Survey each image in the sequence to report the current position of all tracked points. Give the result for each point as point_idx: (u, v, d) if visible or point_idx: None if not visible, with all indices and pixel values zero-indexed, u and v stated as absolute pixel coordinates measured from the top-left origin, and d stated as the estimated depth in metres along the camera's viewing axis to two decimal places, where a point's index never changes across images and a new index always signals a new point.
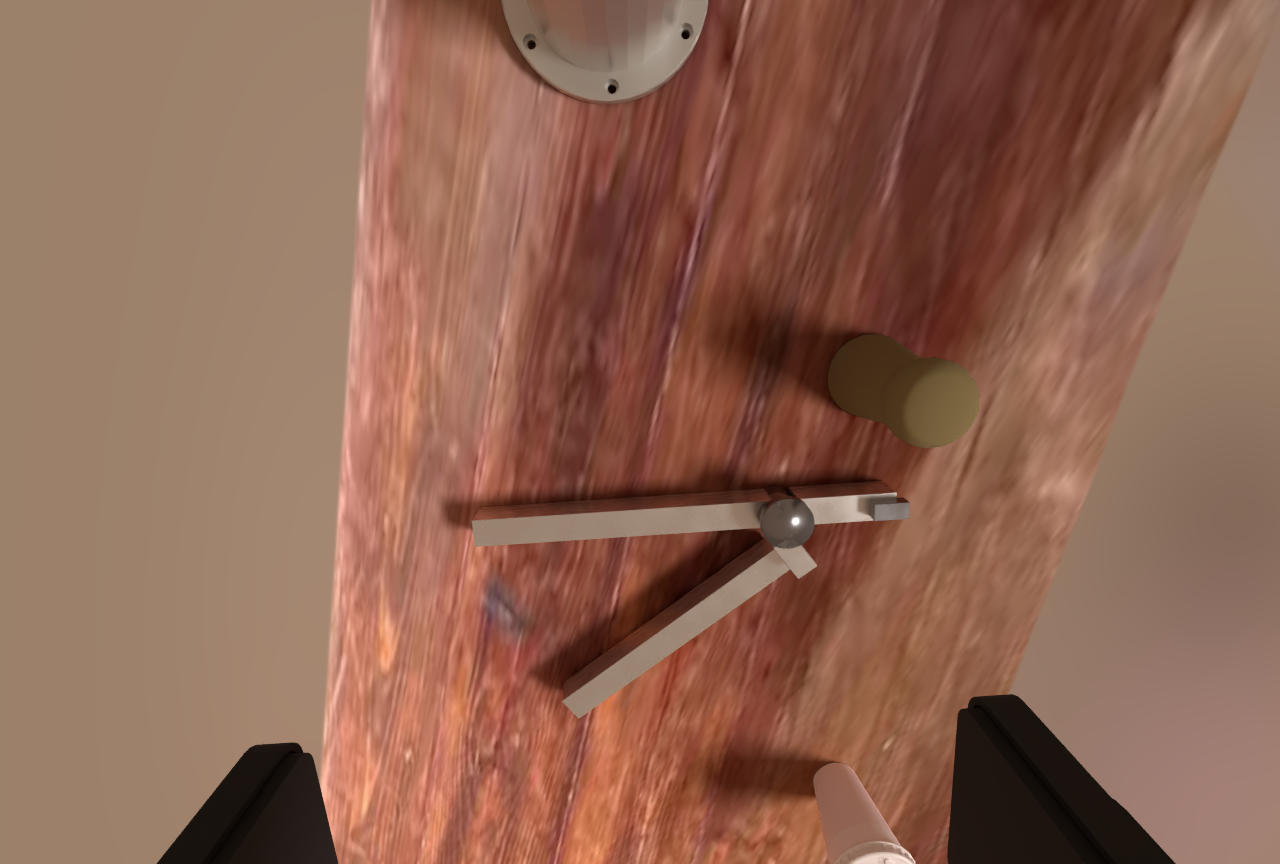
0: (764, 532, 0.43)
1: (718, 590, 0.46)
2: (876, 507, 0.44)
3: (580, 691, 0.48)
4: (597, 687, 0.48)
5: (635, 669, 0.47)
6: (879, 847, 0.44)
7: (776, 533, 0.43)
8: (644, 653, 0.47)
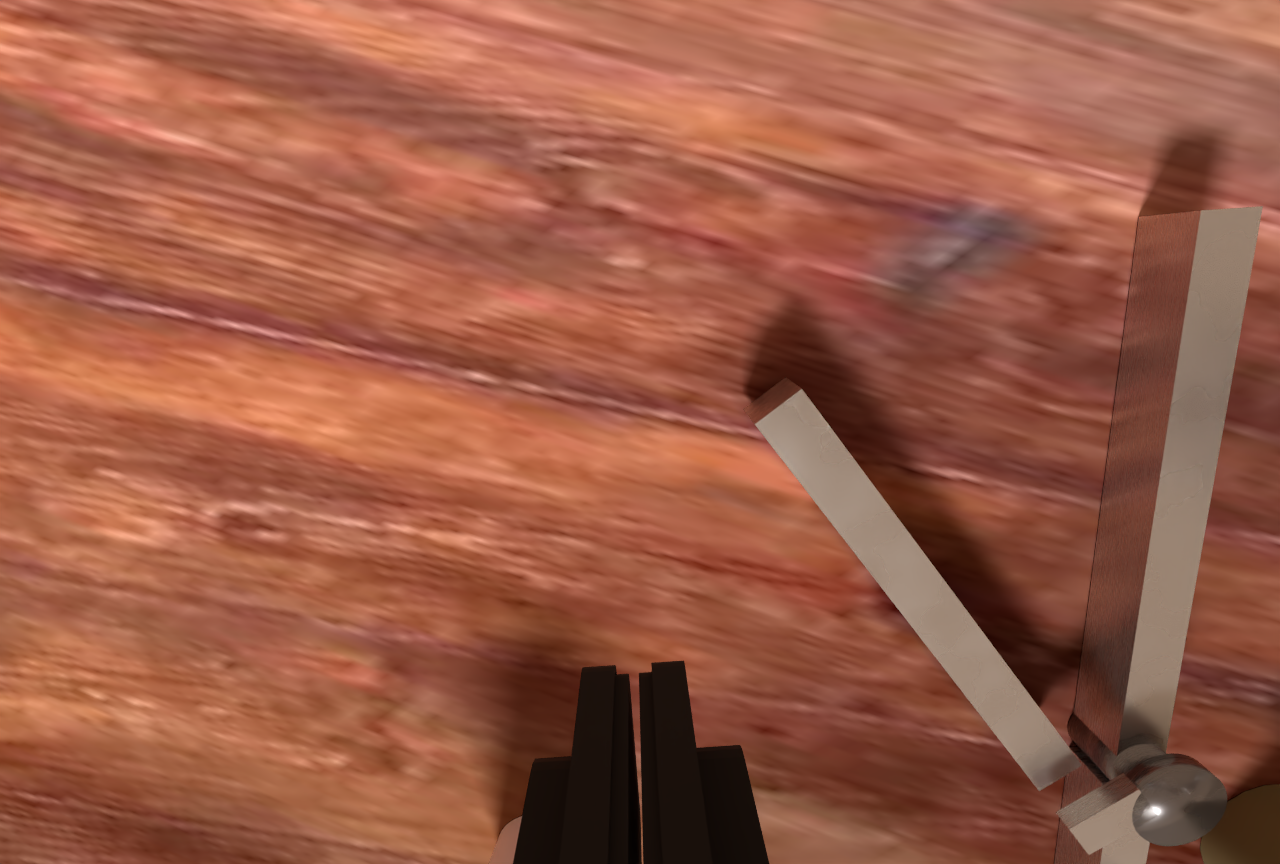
0: (1173, 774, 0.24)
1: (1019, 682, 0.25)
2: None
3: (824, 428, 0.22)
4: (830, 464, 0.22)
5: (866, 540, 0.23)
6: None
7: (1166, 792, 0.24)
8: (901, 557, 0.23)
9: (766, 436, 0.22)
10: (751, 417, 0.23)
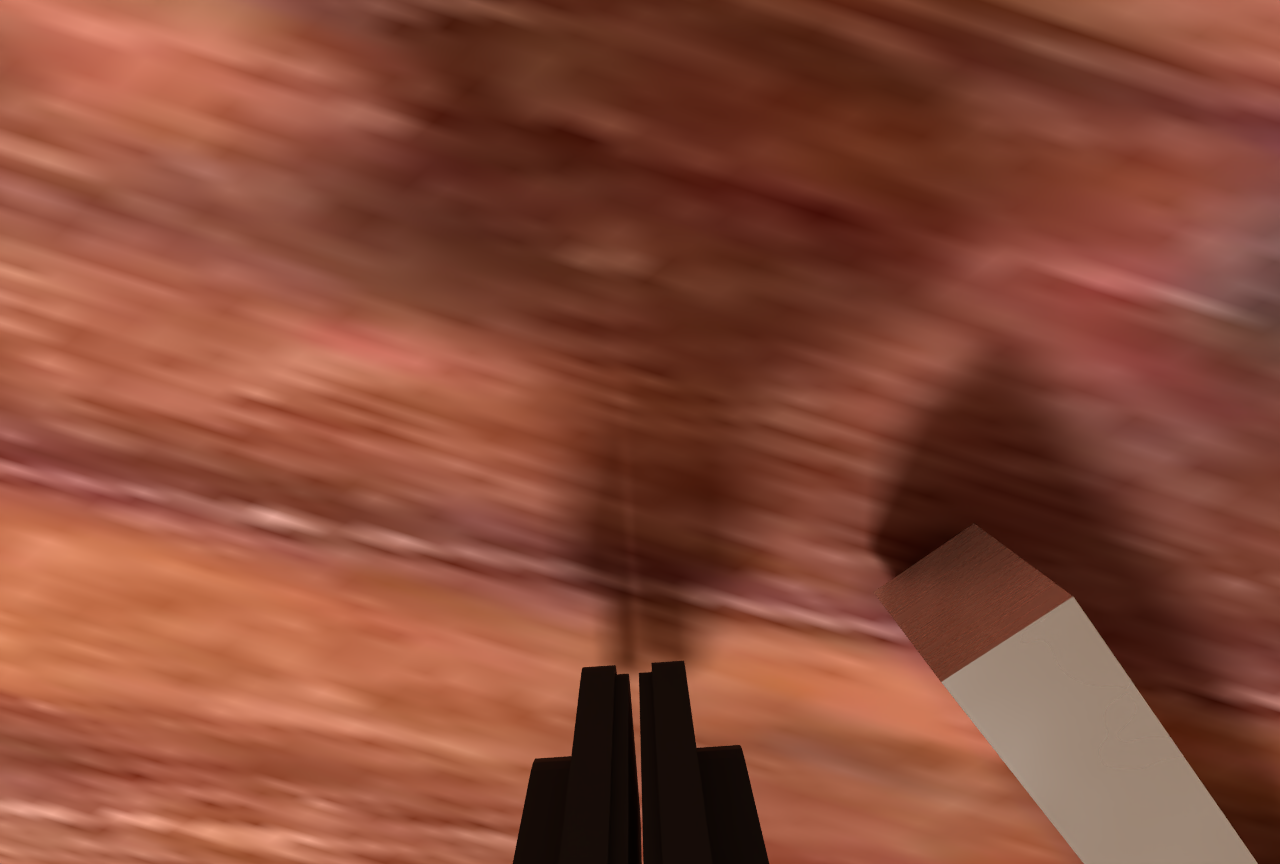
0: None
1: None
2: None
3: (1119, 689, 0.08)
4: (1123, 771, 0.09)
5: None
6: None
7: None
8: None
9: (968, 710, 0.08)
10: (915, 641, 0.09)
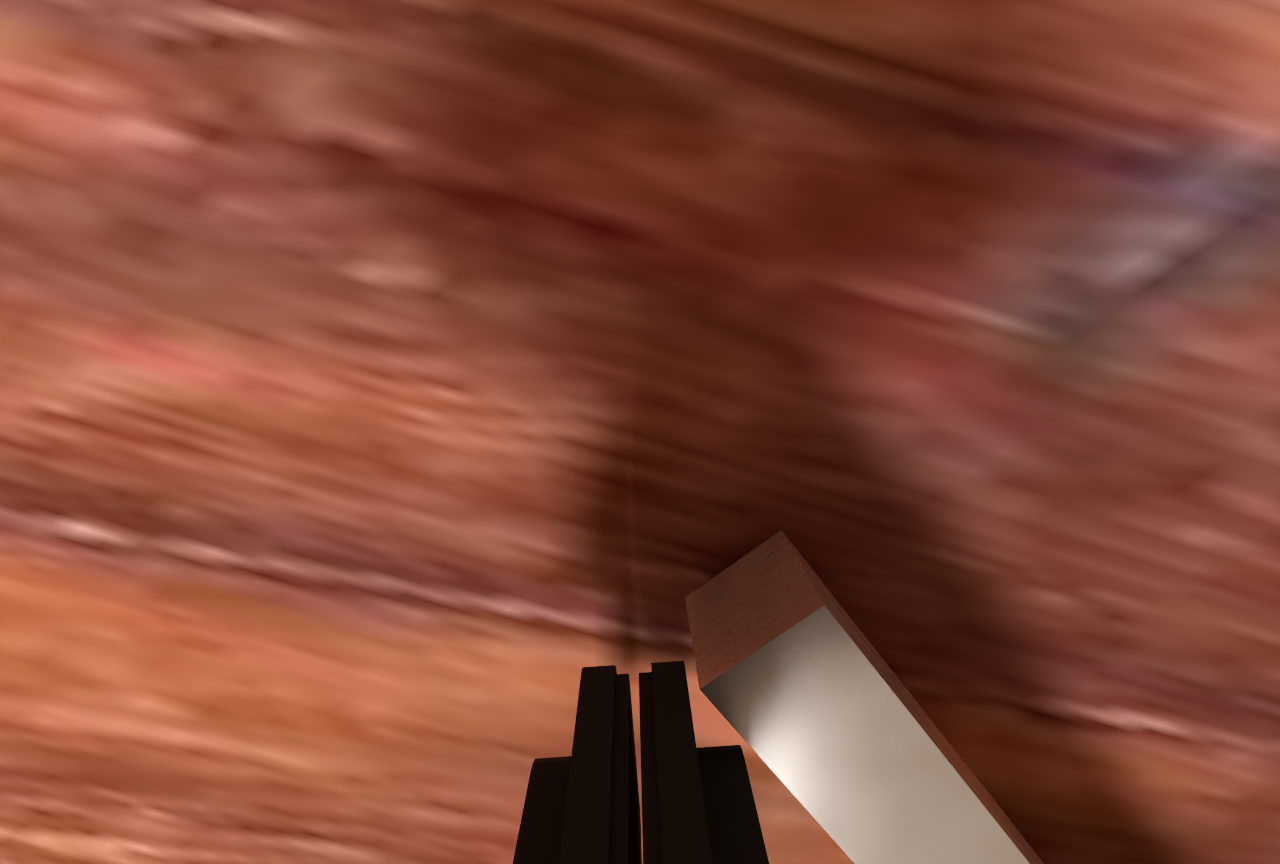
0: None
1: None
2: None
3: (881, 698, 0.08)
4: (893, 780, 0.09)
5: None
6: None
7: None
8: None
9: (730, 717, 0.08)
10: (696, 648, 0.09)
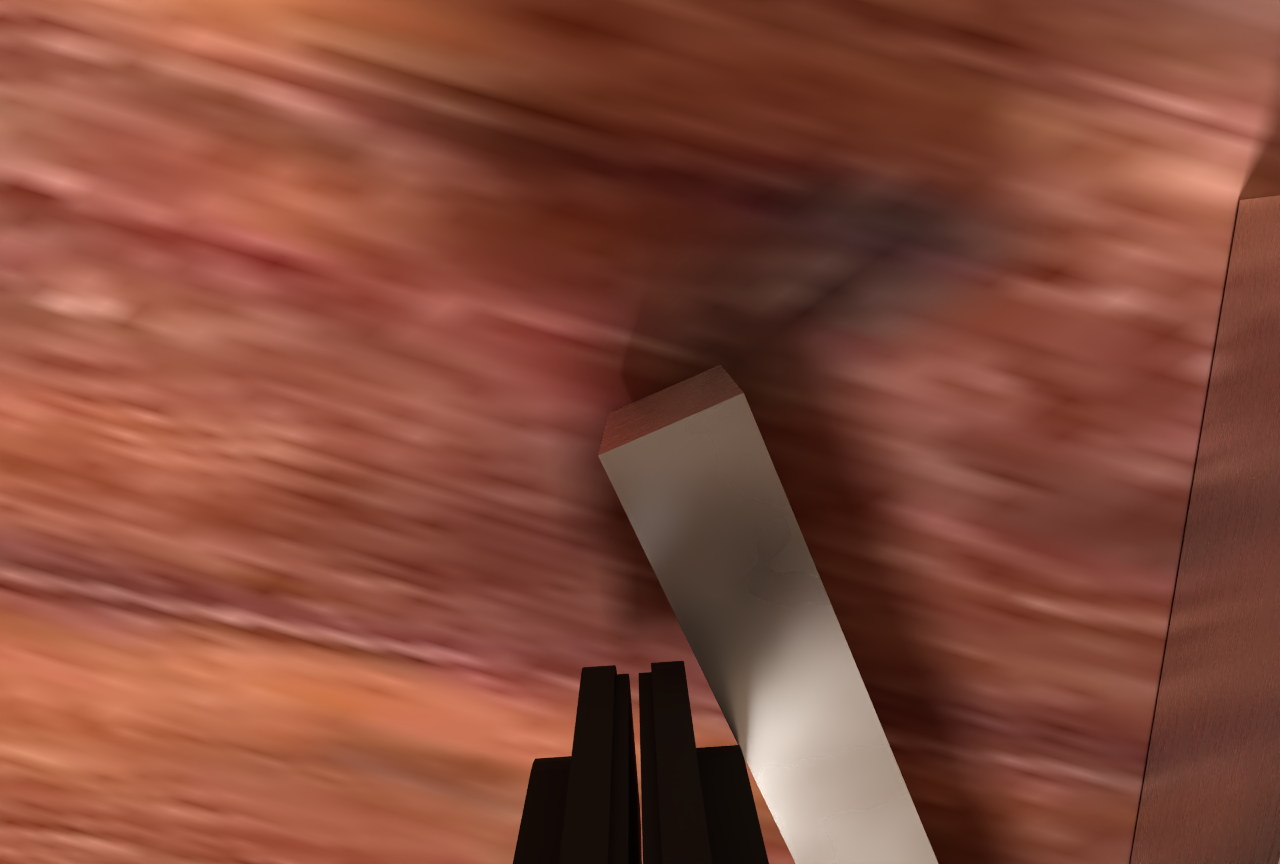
0: None
1: None
2: None
3: (776, 511, 0.08)
4: (768, 605, 0.09)
5: (808, 798, 0.09)
6: None
7: None
8: (880, 852, 0.10)
9: (622, 495, 0.08)
10: (605, 436, 0.09)
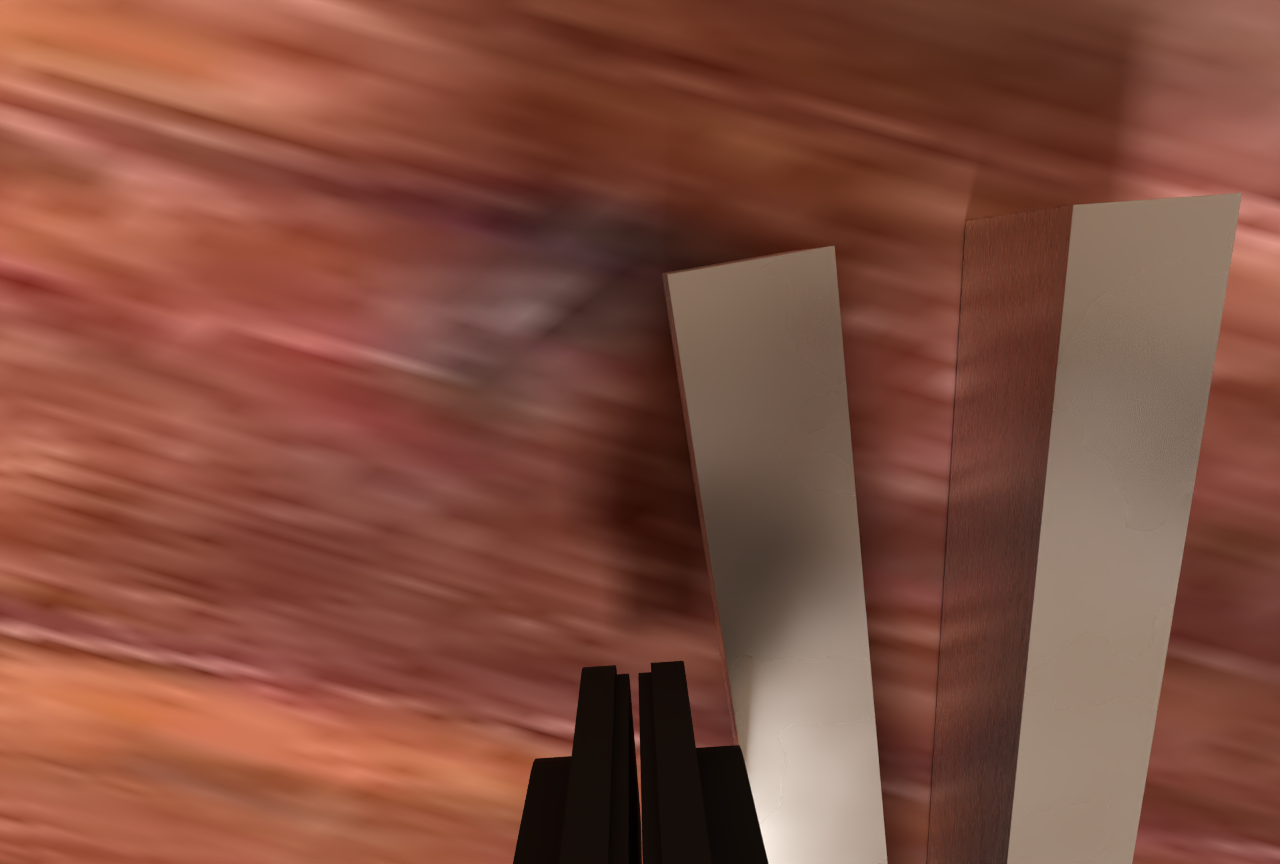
0: None
1: None
2: None
3: (831, 383, 0.08)
4: (794, 483, 0.08)
5: (775, 700, 0.09)
6: None
7: None
8: (829, 773, 0.09)
9: (680, 324, 0.08)
10: (669, 272, 0.08)
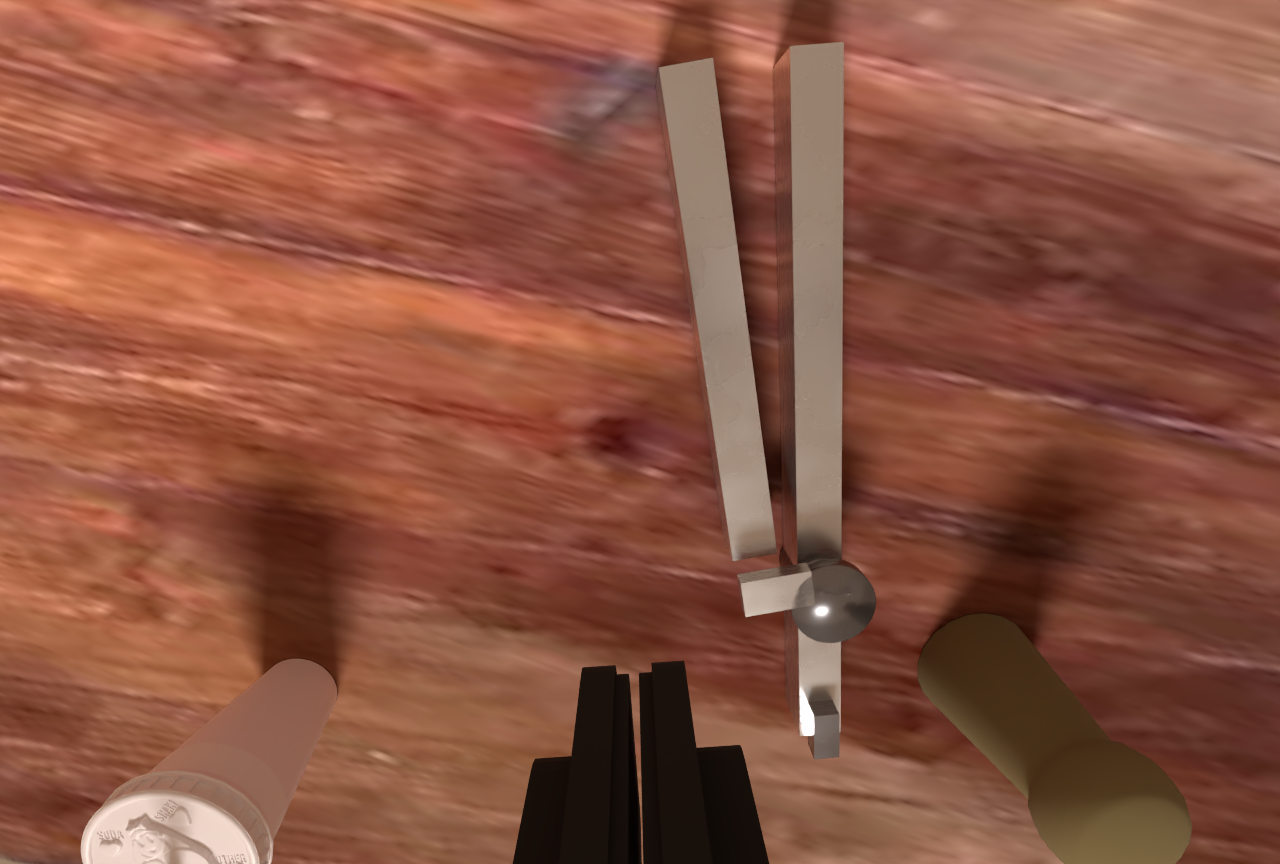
0: (843, 569, 0.26)
1: (762, 444, 0.27)
2: (835, 716, 0.29)
3: (714, 107, 0.23)
4: (703, 145, 0.24)
5: (700, 236, 0.24)
6: (260, 846, 0.23)
7: (831, 584, 0.26)
8: (721, 270, 0.25)
9: (663, 85, 0.23)
10: (658, 74, 0.24)
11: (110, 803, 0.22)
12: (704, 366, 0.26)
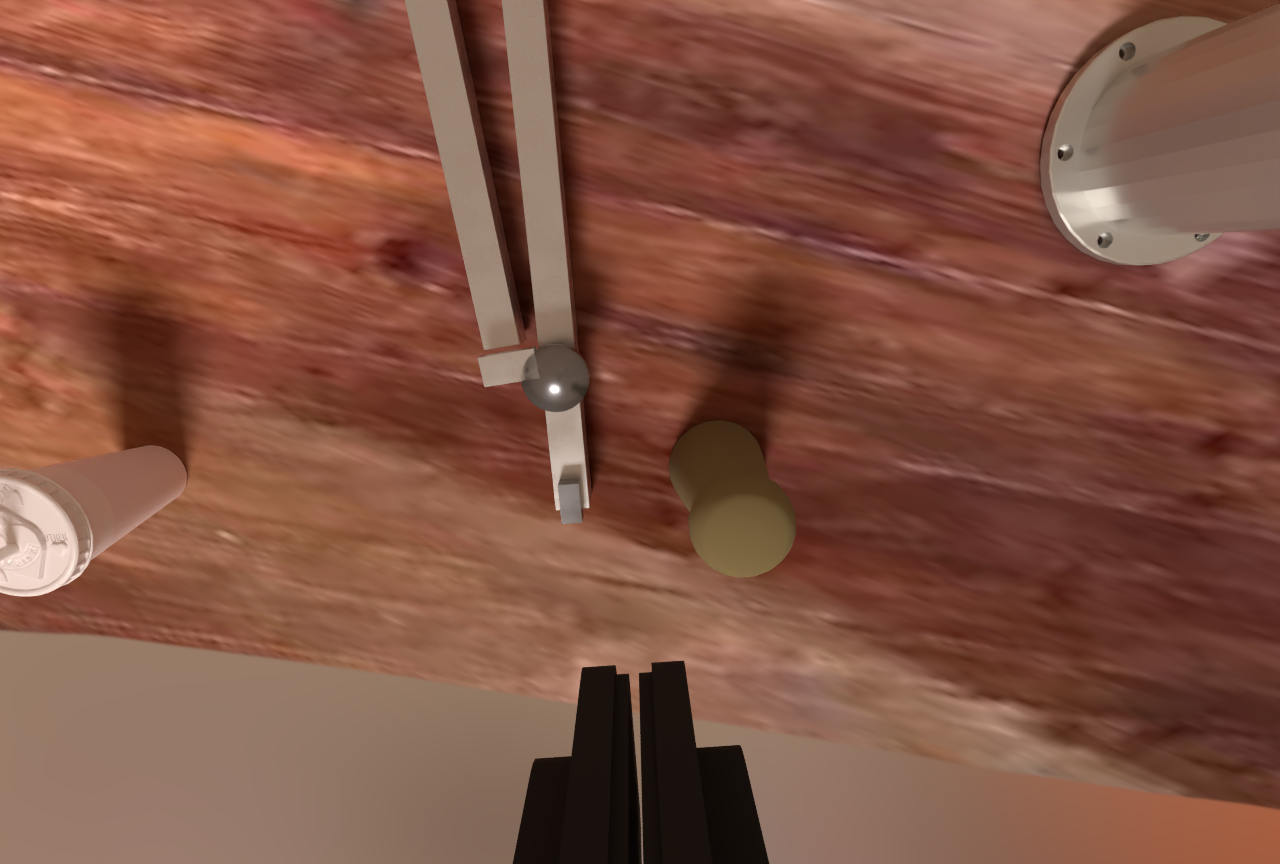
0: (559, 347, 0.33)
1: (498, 249, 0.33)
2: (575, 485, 0.36)
3: None
4: None
5: (433, 71, 0.31)
6: (82, 533, 0.30)
7: (550, 360, 0.33)
8: (452, 99, 0.31)
9: None
10: None
11: None
12: (446, 181, 0.32)
